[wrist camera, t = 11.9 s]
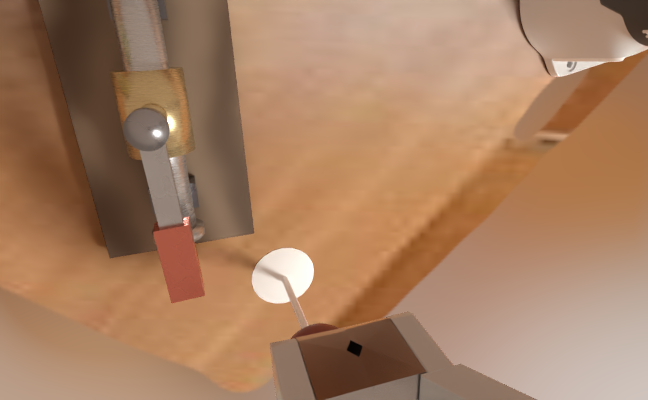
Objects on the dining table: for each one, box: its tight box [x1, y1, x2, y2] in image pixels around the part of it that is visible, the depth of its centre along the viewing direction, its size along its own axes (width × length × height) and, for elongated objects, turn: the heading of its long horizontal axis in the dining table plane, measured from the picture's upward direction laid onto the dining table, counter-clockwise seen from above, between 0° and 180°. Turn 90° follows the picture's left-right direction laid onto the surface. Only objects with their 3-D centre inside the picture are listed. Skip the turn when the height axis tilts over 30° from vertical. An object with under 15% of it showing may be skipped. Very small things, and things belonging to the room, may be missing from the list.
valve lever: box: [123, 107, 205, 303], centre depth 28 cm, size 14×3×4 cm, turn 4°
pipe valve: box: [106, 0, 205, 244], centre depth 31 cm, size 5×22×8 cm, turn 2°
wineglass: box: [252, 248, 339, 339], centre depth 38 cm, size 8×9×20 cm
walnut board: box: [38, 0, 254, 258], centre depth 35 cm, size 14×28×2 cm, turn 2°
